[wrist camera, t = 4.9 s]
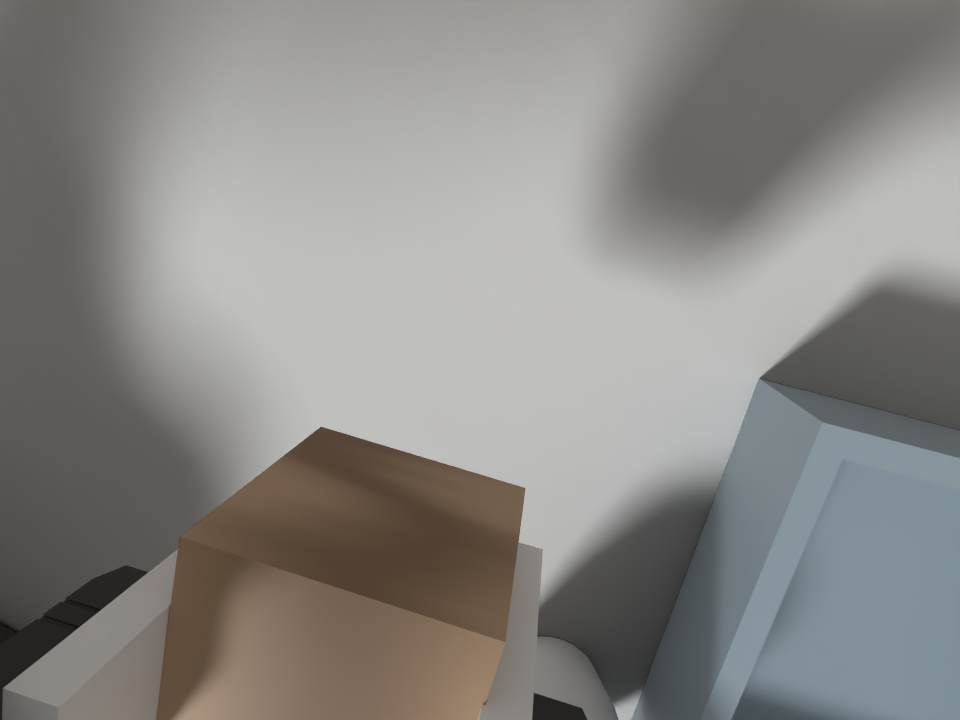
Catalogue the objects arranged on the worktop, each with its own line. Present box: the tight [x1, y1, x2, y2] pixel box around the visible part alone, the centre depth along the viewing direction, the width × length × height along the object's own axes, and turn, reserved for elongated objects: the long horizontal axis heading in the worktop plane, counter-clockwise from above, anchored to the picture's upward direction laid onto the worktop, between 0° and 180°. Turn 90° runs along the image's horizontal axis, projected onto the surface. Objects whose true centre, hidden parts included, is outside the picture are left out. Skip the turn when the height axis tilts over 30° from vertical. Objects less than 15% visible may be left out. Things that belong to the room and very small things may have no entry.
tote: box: [632, 379, 960, 720], centre depth 22 cm, size 14×19×6 cm
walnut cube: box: [156, 427, 525, 720], centre depth 11 cm, size 5×5×5 cm
